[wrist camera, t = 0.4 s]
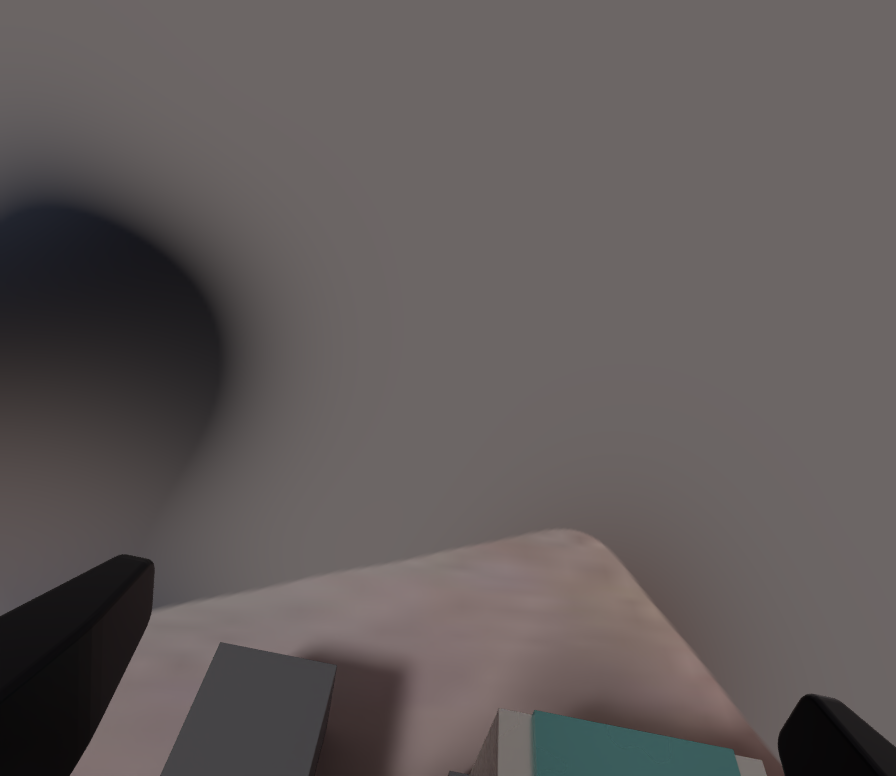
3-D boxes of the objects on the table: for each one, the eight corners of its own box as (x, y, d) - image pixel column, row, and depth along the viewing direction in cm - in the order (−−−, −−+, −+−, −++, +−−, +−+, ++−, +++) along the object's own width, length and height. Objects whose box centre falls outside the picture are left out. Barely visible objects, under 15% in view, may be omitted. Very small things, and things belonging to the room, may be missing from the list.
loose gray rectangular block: (285, 889, 19) (293, 832, 17) (155, 865, 19) (147, 805, 17) (326, 727, 23) (337, 665, 21) (220, 706, 23) (220, 642, 21)
